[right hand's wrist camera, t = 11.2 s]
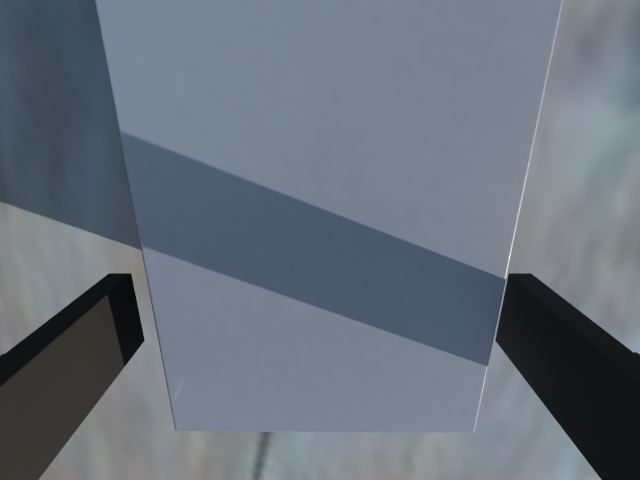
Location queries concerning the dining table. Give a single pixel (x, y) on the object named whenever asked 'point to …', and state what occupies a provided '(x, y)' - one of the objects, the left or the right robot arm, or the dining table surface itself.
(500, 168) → the cabinet
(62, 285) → the dining table surface
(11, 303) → the dining table surface
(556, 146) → the dining table surface
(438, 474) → the dining table surface
